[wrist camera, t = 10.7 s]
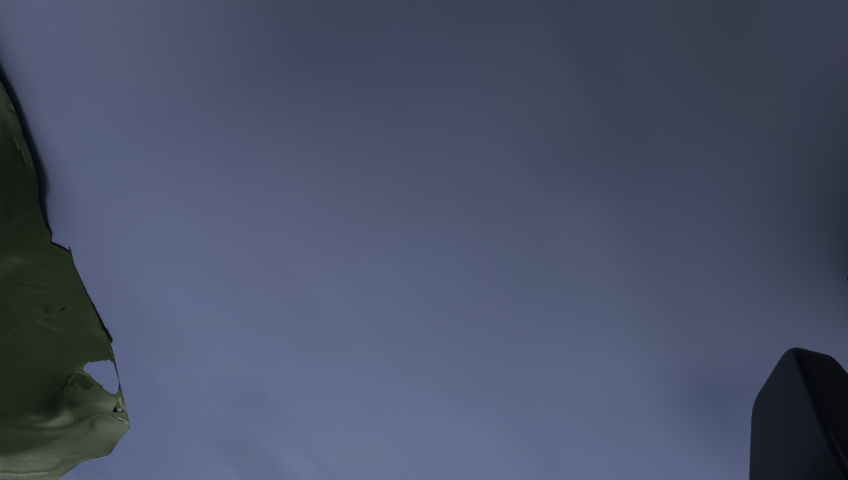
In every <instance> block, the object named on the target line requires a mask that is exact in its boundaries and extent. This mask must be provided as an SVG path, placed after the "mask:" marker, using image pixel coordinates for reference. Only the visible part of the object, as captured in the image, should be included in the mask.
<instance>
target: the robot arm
mask: <svg viewBox="0 0 848 480" xmlns="http://www.w3.org/2000/svg"><path fill="white" fill-rule="evenodd" d="M1 213H2V204H1V199H0V218H1ZM847 280H848V278H847ZM749 480H848V373H847V372H846V371H845V370H844V369H843V368H842V366H841V365H840V364H839V363H838V362H837V361H836V360H835V359H834V358H833V357H831V356H829V355H826V354H822V353H818V352H814V351H810V350H806V349H802V348H797V347H796V348H791V349H789V350H787V351H786V352H785V353H784V354H783V356H782V357H781V359H780V360H779V362H778V363H777V365H776V366H775V368H774V370H773V371H772V373H771V374H770V376H769V378H768V379H767V381H766V382H765V384H764V385H763V387H762V389H761V390H760V392H759V393H758V395H757V397H756V400H755V402H754V406H753V410H752V418H751V444H750V471H749Z"/></svg>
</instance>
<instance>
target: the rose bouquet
mask: <svg viewBox="0 0 848 480" xmlns="http://www.w3.org/2000/svg"><path fill="white" fill-rule="evenodd" d="M0 199H1V204H2V213H1V218H0V479H21V480H57V479H59V478H60V477H61V476H62V475H64V474H66V473H67V472H68V471H70V470H71V469H73V468H74V467H75V466H76V465H78V464H79V463H80V462H82V461H85V460H88V459H93V458H98V457H103V456H107V455H109V454H110V453H111V452H112V450H113V449H114V447H115V445H116V444H117V442H118V440H119V439H120V438H121V437H122V436H123V435H124V434H125V433H126V431H127V430H128V429H129V428H130V425H129V420H128V416H127V412H126V407H125V403H124V399H123V395H122V390H121V386H120V382H119V390H118V392H117V394H116V395H115V394H111V393H109V392H107V391H106V390H105V389H103V387H102V385H100V384H99V383H97V382H96V381H95V380H94V379H93V378H92V377H91V376H90V375H89V374H88V373H86V372H85V371H83V367H84V365H85V364H86V363H88V362H89V361H90V362H95V361H102V360H108V359H109V360H111V361H112V362H113V363H114V365H115V368H116V364H115V359H114V355H113V352H112V348H111V346H110V344H111V342H112V341H111V339H110V338H109V336H108V334H107V333H106V331H105V330H104V328H103V326H102V324H101V322H100V320H99V318H98V316H97V314H96V312H95V309H94V307H93V305H92V303H91V301H90V299H89V297H88V295H87V293H86V291H85V289H84V286H83V284H82V282H81V280H80V278H79V275H78V273H77V271H76V269H75V267H74V264H73V260H72V255H71V250H70V247H69V253H68V252H67V251H65V250H64V249H63V248H60V247H58V246H55V245H53V244H51V243H50V240H51V233H50V232H49V230H48V229H47V227H46V225H45V221H44V218H43V214H42V211H41V207H40V204H39V192H38V179H37V173H36V170H35V167H34V164H33V161H32V158H31V155H30V152H29V148H28V146H27V143H26V141H25V139H24V136H23V134H22V130H21V125H20V122H19V119H18V117H17V114H16V112H15V110H14V107H13V105H12V102H11V100H10V98H9V95H8V94H7V92H6V90H5V88H4V87H3V85H2V83H1V81H0ZM116 372H117V368H116ZM117 376H118V373H117ZM118 380H119V377H118Z"/></svg>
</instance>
